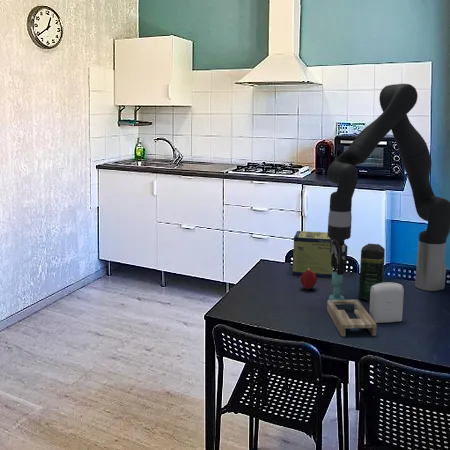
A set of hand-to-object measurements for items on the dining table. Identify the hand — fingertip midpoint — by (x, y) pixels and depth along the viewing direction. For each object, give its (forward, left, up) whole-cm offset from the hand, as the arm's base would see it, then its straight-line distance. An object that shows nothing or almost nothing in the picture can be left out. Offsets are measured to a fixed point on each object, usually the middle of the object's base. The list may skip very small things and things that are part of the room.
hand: (337, 270), depth 184 cm
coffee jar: (-13, -3, -11) cm, 17 cm away
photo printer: (-11, +17, -11) cm, 23 cm away
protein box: (+2, -31, -11) cm, 33 cm away
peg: (0, 0, -11) cm, 11 cm away
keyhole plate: (0, +18, -11) cm, 21 cm away
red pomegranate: (+7, -12, -11) cm, 18 cm away
